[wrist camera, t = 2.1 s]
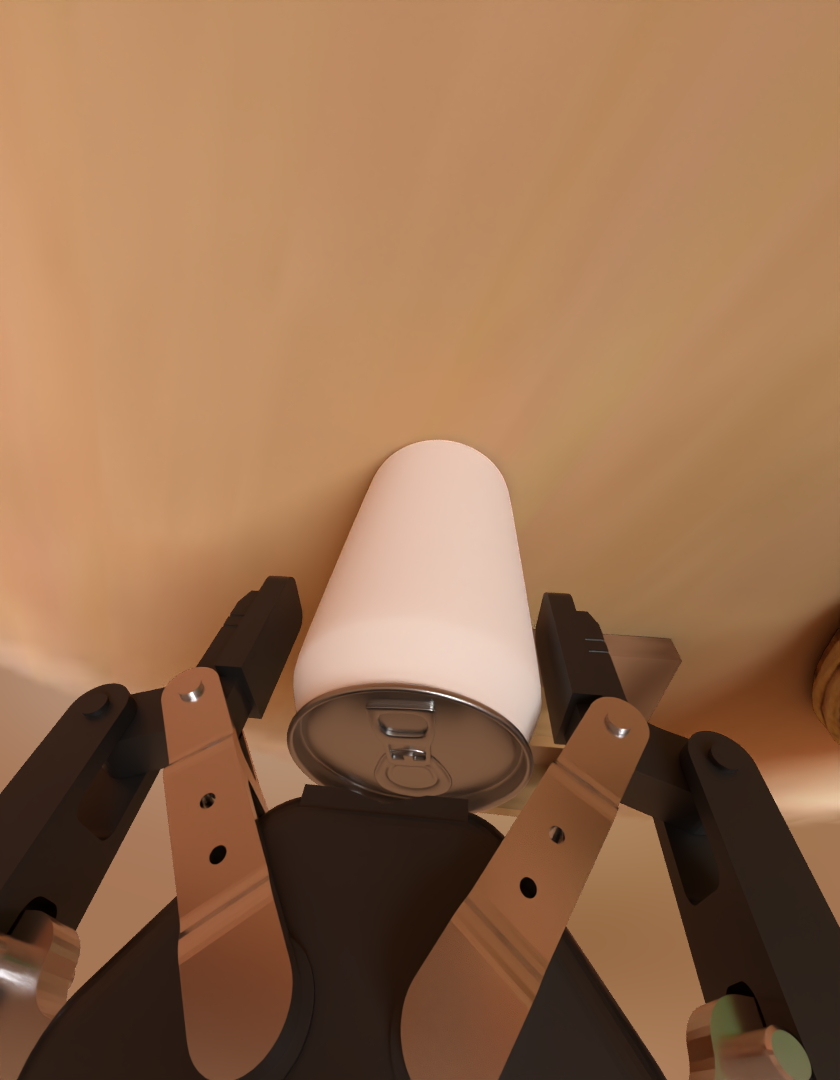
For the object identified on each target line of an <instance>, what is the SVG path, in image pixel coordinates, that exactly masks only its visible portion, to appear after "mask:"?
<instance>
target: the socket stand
mask: <svg viewBox="0 0 840 1080" xmlns="http://www.w3.org/2000/svg"><path fill="white" fill-rule="evenodd" d="M532 631H533V637H534V644H535V650H536V656H537V663H538V670H539V677H540V685H541V711H540V715H539V719H538V723H537V726H536V728H535V731H534V734H533V736H532V739H531V741H530V744H529V746H530V748H531V751H532V755H533V772H532V775H531V778H530V780H529V782H528V783H527V785H526V786H525V788H524V789H523V790H522V791H521V792H520V793H519V794H518V795H516V796H515V797H514V798H512V799H511V800H509V801H507V802H505V803H503V804H501V805H499V806H497V807H494V808H492V809H489V810H485V811H482V812H479V813H488V814H498V815H507V816H516V817H518V815H519V814H520V812H521V811H522V809H523V808H524V806H525V804H526V803H527V801H528V800H529V798H530V796H531V795H532V793H533V792H534V790H535V788H536V787H537V785H538V784H539V782H540V780H541V779H542V777H543V776H544V774H545V772H546V771H547V769H548V768H549V766H550V765H551V764H552V762H553V761H556V760H557V758H558V757H559V755H560V754H561V752H562V751H563V749H564V747H565V746H566V745H559V744H554V740H553V735H552V730H551V724H550V719H549V713H548V708H547V703H546V697H545V692H544V687H543V681H542V676H541V671H540V665H539V660H538V655H537V649H536V643H535V631H536V630H534V629H532ZM603 637H604V642H606V645H607V648H608V650H609V654H610V656H611V659H612V661H613V664H614V667H615V669H616V672H617V675H618V678H619V680H620V683H621V686H622V689H623V691H624V694H625V697H626V699H627V701H628V703H629V704H631V705H632V706H634V707H635V708H636V709H637V710H638V711H639V712H640V713H641V714H642V715H643V717H644V718H645V720H646V721H647V722H648V721H649V719H650V717H651V715H652V713H653V712H654V710H655V708H656V706H657V705H658V703H659V701H660V699H661V697H662V696H663V694H664V692H665V690H666V689H667V687H668V685H669V683H670V681H671V680H672V678H673V676H674V674H675V672H676V671H677V669H678V667H679V665H680V664H681V662H682V660H681V658H680V656H679V654H678V652H677V650H676V648H675V647H674V645H673V643H672V641H671V639H665V638H651V637H636V636H622V635H607V634H603Z"/></svg>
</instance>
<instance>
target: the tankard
mask: <svg viewBox="0 0 840 1080" xmlns="http://www.w3.org/2000/svg"><path fill="white" fill-rule="evenodd" d="M812 701H813V710H814V711H815V713H816V715H817V716H818V718H819V720H820V722H821V723H822V724H823V725H824V726H825V727H826V728H827V729H828V731H829V732H830V734H831V736H832V737H833V739H834V740H835V741H836V742H837V743H838V744H839V745H840V628H839V629H838V630H837V632H836V633H835V635H834V636H833V638H832V639H831V641H830V643H829V645H828V646H827V648H826V649H825V650H824V652H823V654H822V656H821V658H820V661H819V663H818V666H817V668H816V671H815V673H814V684H813V690H812Z"/></svg>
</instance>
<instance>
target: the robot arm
mask: <svg viewBox="0 0 840 1080" xmlns="http://www.w3.org/2000/svg"><path fill="white" fill-rule="evenodd" d="M301 624H302V608H301V604H300V599H299V595H298V591H297V586H296V582H295V579H294V578H293V577H282V576H269V577H268V578H267V579H266V580H265V582H264V584H263V585H262V587H261V589H260V590H259V591H251V592H250V593H248V594H247V595H246V596H245V597H243V598H242V599H241V600H240V601H238V603H237V604H236V606H235V608H234V609H233V611H232V612H231V614H230V617H228V618H227V620H226V622H225V623H224V627H222V628H221V629H220V631H219V632H218V634H217V636H216V637H215V639H214V640H213V642H212V643H211V645H210V647H209V648H208V650H207V651H206V653H205V654H204V656H203V657H202V659H201V661H200V662H199V664H198V665H197V666H196V668H192V669H189V670H186V671H184V672H182V673H180V674H179V675H177V676H176V677H175V678H173V679H172V680H171V681H170V682H169V683H168V684H167V686H166V687H164V688H160V689H155V690H151V691H146V692H141V693H136V694H130V693H129V691H128V690H127V688H126V687H125V686H123V685H121V684H115V683H114V684H105V685H102V686H99V687H96V688H94V689H92V690H90V691H88V692H86V693H85V694H83V695H82V696H80V697H79V698H78V699H77V700H76V701H75V702H74V703H73V704H72V705H71V706H70V707H69V708H68V710H67V711H66V712H65V713H64V715H63V716H62V717H61V719H60V720H59V721H58V722H57V723H56V725H55V726H54V727H53V728H52V730H51V731H50V732H49V734H48V735H47V736H46V737H45V738H44V740H43V741H42V742H41V744H40V745H39V746H38V747H37V748H36V750H35V751H34V752H33V753H32V755H31V756H30V757H29V759H28V760H27V761H26V762H25V763H24V765H23V766H22V767H21V769H20V770H19V771H18V772H17V774H16V775H15V776H14V778H13V779H12V780H11V781H10V782H9V784H8V785H7V786H6V787H5V789H4V790H3V791H2V792H1V794H0V1080H667V1079H666V1078H665V1076H664V1074H663V1072H662V1071H661V1069H660V1068H659V1066H658V1064H657V1063H656V1061H655V1060H654V1058H653V1057H652V1055H651V1053H650V1052H649V1050H648V1049H647V1048H646V1046H645V1045H644V1043H643V1042H642V1040H641V1039H640V1037H639V1035H638V1034H637V1032H636V1031H635V1029H634V1028H633V1026H632V1025H631V1023H630V1022H629V1020H628V1019H627V1017H626V1016H625V1014H624V1013H623V1011H622V1010H621V1008H620V1007H619V1006H618V1004H617V1002H616V1001H615V999H614V998H613V996H612V995H611V993H610V992H609V990H608V989H607V987H606V986H605V984H604V983H603V981H602V980H601V978H600V977H599V975H598V974H597V972H596V971H595V969H594V968H593V966H592V965H591V963H590V962H589V960H588V959H587V957H586V956H585V954H584V953H583V951H582V950H581V948H580V947H579V945H578V944H577V942H576V941H575V939H574V938H573V936H572V934H571V933H570V931H569V930H568V929H567V927H566V925H567V922H568V920H569V918H570V916H571V914H572V912H573V909H574V907H575V905H576V903H577V900H578V898H579V896H580V894H581V892H582V889H583V887H584V885H585V883H586V881H587V878H588V876H589V874H590V872H591V869H592V867H593V865H594V863H595V860H596V859H597V856H598V854H599V852H600V849H601V848H602V845H603V843H604V841H605V839H606V837H607V834H608V832H609V830H610V828H611V826H612V823H613V821H614V819H615V816H616V814H617V811H618V805H619V803H622V804H624V805H627V806H629V807H631V808H633V809H636V810H638V811H640V812H643V813H645V814H647V815H650V816H652V817H653V819H654V823H655V827H656V830H657V833H658V837H659V840H660V844H661V848H662V851H663V855H664V858H665V862H666V865H667V869H668V872H669V876H670V879H671V883H672V886H673V890H674V894H675V897H676V901H677V904H678V908H679V911H680V915H681V918H682V922H683V925H684V929H685V932H686V936H687V940H688V943H689V947H690V950H691V954H692V957H693V961H694V964H695V968H696V971H697V975H698V979H699V982H700V985H701V989H702V992H703V996H704V1000H705V1003H706V1004H704V1005H702V1006H700V1007H698V1008H696V1009H695V1010H694V1011H693V1012H692V1014H691V1016H690V1018H689V1020H688V1023H687V1030H686V1042H687V1049H688V1055H689V1065H690V1075H689V1080H840V927H839V925H838V924H837V922H836V920H835V918H834V916H833V914H832V912H831V910H830V908H829V906H828V904H827V902H826V900H825V898H824V896H823V894H822V892H821V891H820V889H819V886H818V885H817V883H816V881H815V879H814V877H813V875H812V873H811V871H810V869H809V867H808V865H807V863H806V861H805V859H804V857H803V855H802V854H801V852H800V850H799V848H798V846H797V844H796V842H795V840H794V838H793V836H792V834H791V832H790V830H789V828H788V826H787V824H786V822H785V820H784V818H783V816H782V814H781V812H780V811H779V809H778V807H777V805H776V803H775V801H774V799H773V797H772V795H771V793H770V791H769V789H768V787H767V785H766V783H765V781H764V779H763V777H762V775H761V774H760V772H759V770H758V768H757V766H756V764H755V762H754V761H753V759H752V758H751V756H750V755H749V754H748V753H747V752H746V751H745V750H744V749H743V748H742V747H741V746H740V745H739V744H737V743H736V742H734V741H733V740H731V739H730V738H728V737H726V736H724V735H721V734H719V733H715V732H711V731H701V732H697V733H695V734H694V735H692V736H691V738H690V739H687V738H685V737H682V736H679V735H676V734H674V733H671V732H668V731H665V730H663V729H660V728H658V727H655V726H653V725H652V724H650V723H648V722H647V721H646V720H645V718H644V717H643V715H642V714H641V713H640V712H639V711H638V710H637V709H636V708H635V707H634V706H632V705H631V704H629V703H628V701H627V699H626V697H625V694H624V691H623V689H622V686H621V683H620V680H619V678H618V675H617V672H616V669H615V667H614V664H613V661H612V659H611V656H610V654H609V650H608V648H607V645H606V642H604V637H603V634H602V631H601V629H600V626H599V624H598V623H597V622H596V621H595V620H594V618H593V617H592V616H591V615H590V614H589V613H588V612H585V611H576V609H575V605H574V602H573V599H572V596H571V595H570V594H564V593H547V592H546V593H544V595H543V599H542V603H541V607H540V612H539V616H538V620H537V624H536V631H535V643H536V649H537V655H538V660H539V665H540V671H541V676H542V681H543V687H544V692H545V697H546V703H547V708H548V713H549V719H550V724H551V730H552V735H553V740H554V744H559V745H566V746H565V747H564V749H563V751H562V752H561V754H560V755H559V757H558V758H557V760H556V761H553V762H552V764H551V765H550V766H549V768H548V769H547V771H546V772H545V774H544V776H543V777H542V779H541V780H540V782H539V784H538V785H537V787H536V788H535V790H534V792H533V793H532V795H531V796H530V798H529V800H528V801H527V803H526V804H525V806H524V808H523V809H522V811H521V812H520V814H519V815H518V817H517V819H516V820H515V822H514V823H513V825H512V827H511V828H510V830H509V832H508V833H507V835H506V836H505V837H504V835H503V834H501V833H500V832H499V831H498V830H497V829H496V828H495V827H494V826H493V825H491V824H490V823H489V822H487V821H486V820H484V819H482V818H481V817H479V816H477V815H475V814H473V813H470V812H468V799H460V798H449V797H439V796H428V795H427V796H422V797H417V798H412V799H406V800H401V801H396V802H391V803H381V802H378V801H376V800H373V799H371V798H368V797H366V796H363V795H361V794H358V793H356V792H354V791H351V790H349V789H346V788H341V787H331V786H320V785H308V784H306V785H305V787H304V791H303V794H302V797H299V798H295V799H292V800H289V801H286V802H284V803H282V804H280V805H278V806H276V807H274V808H273V809H271V810H269V811H268V808H267V805H266V802H265V799H264V797H263V794H262V791H261V788H260V786H259V782H258V779H257V775H256V772H255V768H254V765H253V762H252V758H251V755H250V751H249V748H248V745H247V741H246V738H245V734H244V731H243V727H244V725H245V723H246V721H247V719H248V718H258V719H262V716H263V714H264V712H265V709H266V707H267V705H268V702H269V700H270V698H271V695H272V693H273V691H274V689H275V686H276V684H277V682H278V679H279V677H280V675H281V672H282V670H283V668H284V665H285V663H286V661H287V658H288V656H289V654H290V651H291V649H292V647H293V644H294V642H295V640H296V638H297V635H298V633H299V631H300V628H301ZM162 768H164V770H163V780H164V789H165V797H166V806H167V815H168V823H169V832H170V840H171V849H172V858H173V867H174V875H175V885H176V893H177V896H176V897H175V898H174V899H173V900H172V901H171V902H170V903H169V904H168V905H167V906H166V907H165V908H164V909H162V910H161V911H160V912H159V913H158V914H157V915H156V916H155V917H154V918H153V919H152V920H151V921H150V922H149V923H148V924H147V925H146V926H145V927H144V928H143V929H141V931H140V932H138V933H137V934H136V935H135V936H134V937H133V938H132V939H131V940H130V941H129V942H128V943H127V944H126V945H125V946H124V947H123V948H122V949H121V950H119V951H118V952H117V953H116V954H115V955H114V956H113V957H112V958H111V959H110V960H109V961H108V962H107V963H106V964H105V965H104V966H103V967H102V968H101V969H100V970H99V971H97V972H96V973H95V974H94V975H93V976H92V977H91V978H90V979H89V980H88V981H87V982H86V983H85V984H84V985H83V986H82V987H81V988H80V989H79V990H78V991H77V992H76V993H75V994H74V995H73V996H72V997H71V998H70V999H69V1000H68V1001H67V1000H66V999H67V992H68V989H69V987H70V986H71V984H72V982H73V979H74V976H75V968H76V965H77V962H78V958H79V954H80V939H79V936H78V934H77V932H76V929H77V927H78V925H79V923H80V921H81V919H82V918H83V916H84V914H85V912H86V910H87V908H88V906H89V904H90V902H91V900H92V898H93V897H94V894H95V893H96V891H97V889H98V887H99V885H100V883H101V881H102V879H103V878H104V875H105V874H106V872H107V870H108V868H109V866H110V864H111V862H112V860H113V859H114V857H115V855H116V853H117V851H118V849H119V847H120V845H121V843H122V841H123V840H124V838H125V836H126V834H127V832H128V830H129V828H130V826H131V824H132V822H133V820H134V819H135V817H136V815H137V813H138V811H139V809H140V807H141V805H142V803H143V801H144V799H145V798H146V796H147V794H148V792H149V790H150V788H151V786H152V784H153V782H154V781H155V778H156V777H157V775H158V773H159V771H160V769H162Z"/></svg>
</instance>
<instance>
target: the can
mask: <svg viewBox="0 0 840 1080" xmlns="http://www.w3.org/2000/svg"><path fill="white" fill-rule="evenodd" d="M293 689H294V700H295V708H296V714H295V716H294V717H293V719H292V721H291V722H290V725H289V728H288V732H287V745H288V749H289V752H290V754H291V756H292V758H293V760H294V762H295V763H296V765H297V766H298V767H299V768H300V769H301V771H302V772H303V773H305V774H306V775H307V776H308V777H309V778H310V779H311V780H312V781H314V782H315V783H316V784H318V785H320V786H331V787H341V788H346V789H349V790H351V791H354V792H356V793H358V794H361V795H363V796H366V797H368V798H371V799H373V800H376V801H378V802H381V803H391V802H396V801H401V800H406V799H412V798H417V797H422V796H427V795H428V796H439V797H449V798H460V799H468V812H470V813H477V812H482V811H485V810H489V809H492V808H494V807H497V806H499V805H501V804H503V803H505V802H507V801H509V800H511V799H512V798H514V797H515V796H516V795H518V794H519V793H520V792H521V791H522V790H523V789H524V788H525V786H526V785H527V783H528V782H529V780H530V778H531V775H532V772H533V755H532V751H531V748H530V746H529V744H530V741H531V739H532V736H533V734H534V731H535V728H536V726H537V723H538V719H539V715H540V711H541V685H540V677H539V670H538V663H537V656H536V650H535V644H534V637H533V631H532V625H531V619H530V613H529V607H528V601H527V595H526V589H525V583H524V577H523V571H522V565H521V559H520V553H519V547H518V541H517V535H516V530H515V524H514V518H513V513H512V507H511V502H510V497H509V492H508V489H507V486H506V483H505V480H504V478H503V476H502V475H501V473H500V471H499V470H498V469H497V467H496V466H495V465H494V464H493V463H492V462H491V461H490V460H489V459H488V458H487V457H486V456H484V455H483V454H482V453H480V452H479V451H477V450H475V449H473V448H471V447H469V446H467V445H464V444H461V443H458V442H453V441H447V440H427V441H421V442H417V443H414V444H411V445H408V446H406V447H404V448H402V449H400V450H398V451H397V452H395V453H394V454H392V455H391V456H390V457H389V458H388V459H387V460H386V461H385V462H384V463H383V464H382V465H381V466H380V468H379V469H378V471H377V472H376V474H375V476H374V478H373V480H372V482H371V484H370V486H369V489H368V491H367V493H366V495H365V498H364V500H363V502H362V505H361V507H360V509H359V511H358V514H357V516H356V518H355V521H354V523H353V525H352V528H351V530H350V532H349V535H348V537H347V539H346V542H345V544H344V547H343V549H342V551H341V554H340V556H339V558H338V561H337V563H336V565H335V568H334V570H333V572H332V575H331V577H330V580H329V582H328V584H327V587H326V589H325V591H324V594H323V596H322V599H321V601H320V603H319V606H318V608H317V611H316V613H315V615H314V618H313V620H312V623H311V625H310V628H309V630H308V632H307V635H306V637H305V640H304V643H303V645H302V648H301V650H300V653H299V656H298V659H297V662H296V666H295V670H294V677H293Z"/></svg>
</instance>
